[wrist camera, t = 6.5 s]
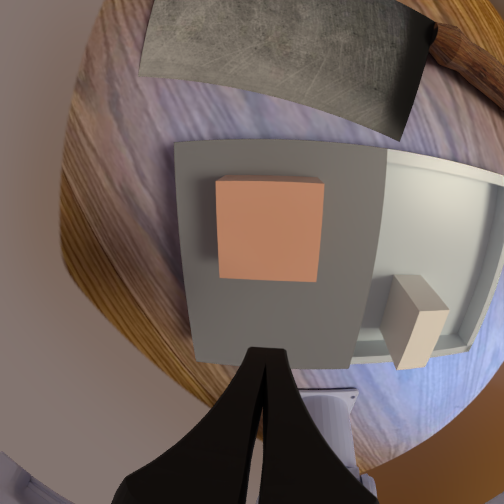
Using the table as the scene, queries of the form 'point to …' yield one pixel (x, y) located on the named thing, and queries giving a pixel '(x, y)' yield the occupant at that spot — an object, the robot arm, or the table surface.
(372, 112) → the meat cleaver
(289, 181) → the tile terracotta
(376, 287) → the tray
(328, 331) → the board
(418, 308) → the tile white
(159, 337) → the table surface
